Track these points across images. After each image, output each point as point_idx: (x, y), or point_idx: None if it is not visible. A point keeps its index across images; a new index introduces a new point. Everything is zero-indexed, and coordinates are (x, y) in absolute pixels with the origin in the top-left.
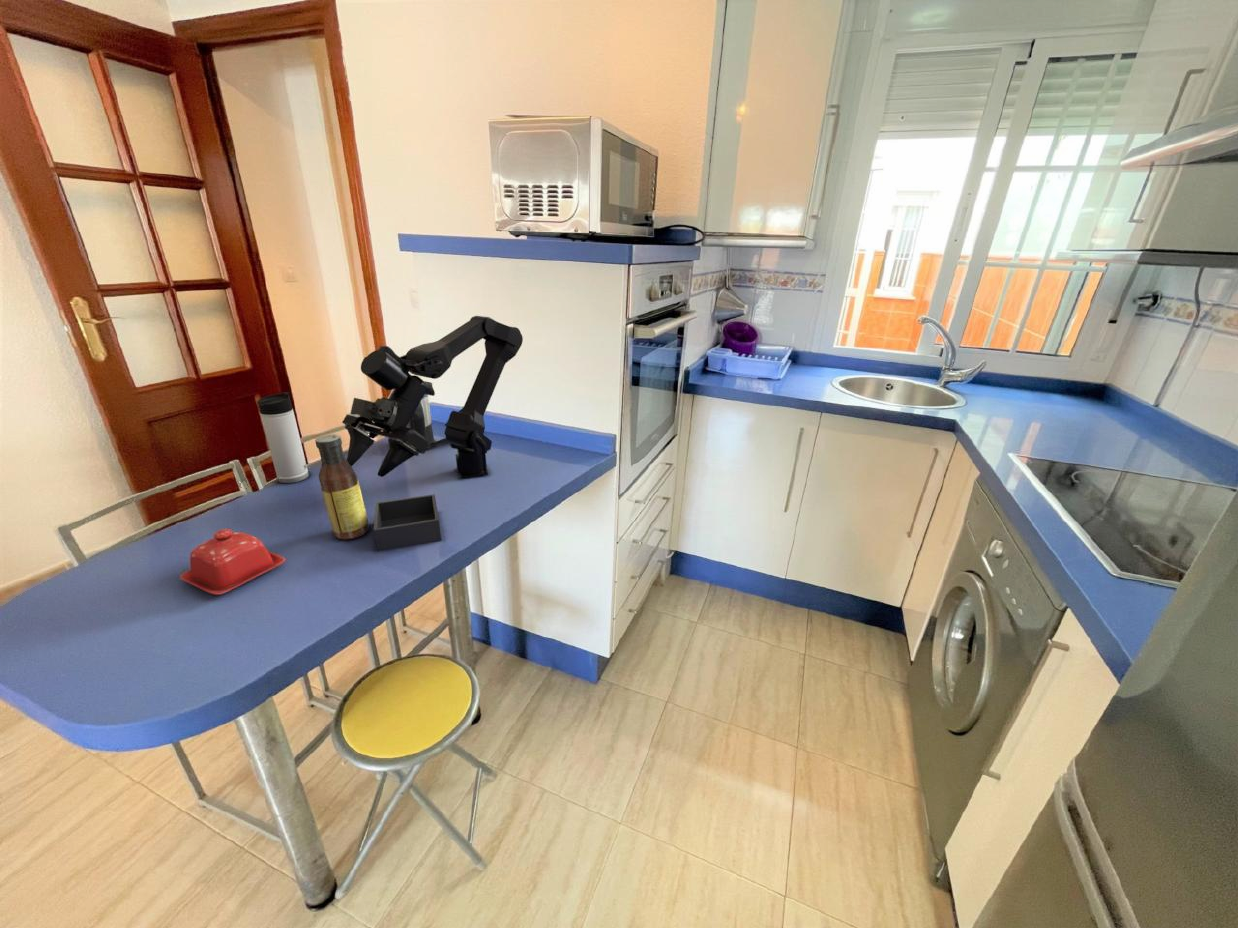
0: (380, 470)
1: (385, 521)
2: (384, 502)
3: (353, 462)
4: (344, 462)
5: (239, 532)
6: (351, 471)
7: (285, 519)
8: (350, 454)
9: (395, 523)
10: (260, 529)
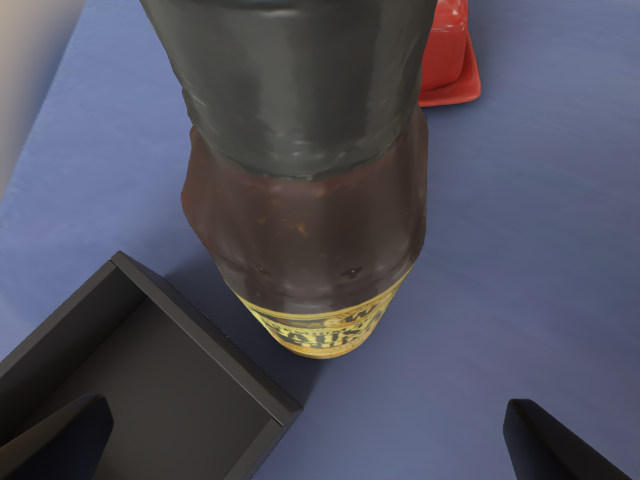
0: (52, 420)
1: (268, 414)
2: (253, 439)
3: (518, 469)
4: (194, 143)
5: (439, 10)
6: (197, 221)
7: (596, 240)
8: (576, 478)
9: (221, 425)
10: (579, 170)
